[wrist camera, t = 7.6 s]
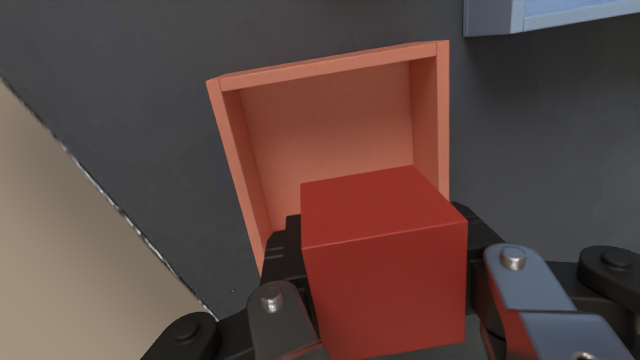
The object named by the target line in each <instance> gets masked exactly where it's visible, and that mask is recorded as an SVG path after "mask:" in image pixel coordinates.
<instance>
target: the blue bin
mask: <svg viewBox="0 0 640 360" xmlns="http://www.w3.org/2000/svg"><path fill="white" fill-rule="evenodd" d="M639 12H640V0H463V37H475V36H490V35H505V34H515V33H520V32H526V31H532V30H538V29H544V28H550V27H556V26H562V25H568V24H574V23H580V22H586V21H592V20H598V19H603V18H609V17H615V16H621V15H627V14H633V13H639Z"/></svg>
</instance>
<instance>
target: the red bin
mask: <svg viewBox="0 0 640 360" xmlns="http://www.w3.org/2000/svg"><path fill="white" fill-rule="evenodd" d="M206 86H207V89H208V93H209V96H210V100H211V103H212V107H213V110H214V114H215V118H216V121H217V125H218V128H219V132H220V135H221V139H222V142H223V146H224V149H225V153H226V157H227V160H228V164H229V167H230V171H231V174H232V178H233V181H234V185H235V188H236V192H237V196H238V199H239V203H240V206H241V210H242V213H243V217H244V220H245V224H246V227H247V231H248V235H249V238H250V242H251V245H252V249H253V252H254V256H255V259H256V263H257V266H258V270H259V274H260V277H261V273H262V267H263V261H264V255H265V248H266V242H267V240H268V238H269V237H270V236H271V235H272V233H273V232H275V231H280V230H285V225H286V216H289V215H295V214H301V204H300V184H301V183H306V182H312V181H318V180H324V179H330V178H336V177H342V176H348V175H354V174H359V173H365V172H371V171H377V170H383V169H389V168H395V167H401V166H407V165H413V166H414V167H415V168H416V169H417V170H418V171H419V172H420V173H421V174H422V175H423V176H424V177H425V178H426V179H427V180H428V181H429V182H430V183H431V184H432V185H433V186H434V187H435V188H436V189H437V190H438V191H439V192H440V193H441V194H442V195H443V196H444V197H445V198H446V199H447V200H448V201H449V40H440V41H421V42H411V43H405V44H399V45H393V46H387V47H381V48H375V49H369V50H363V51H357V52H351V53H345V54H339V55H334V56H328V57H322V58H316V59H310V60H304V61H298V62H292V63H286V64H280V65H274V66H268V67H262V68H256V69H251V70H245V71H239V72H233V73H227V74H224V75H221V76H218V77H216V78H213V79H210V80H207V81H206Z"/></svg>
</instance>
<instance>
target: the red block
mask: <svg viewBox="0 0 640 360" xmlns="http://www.w3.org/2000/svg"><path fill="white" fill-rule="evenodd" d="M300 204H301V250H302V255H303V260H304V265H305V269H306V274H307V279H308V283H309V288H310V293H311V297H312V302H313V307H314V312H315V316H316V321H317V326H318V330H319V335H320V340H321V341H323V343H324V344H325V346H326V348H327V351H328V353H329V355H330V358H331V360H360V359H366V358H372V357H378V356H384V355H390V354H396V353H402V352H408V351H414V350H420V349H426V348H432V347H437V346H443V345H449V344H455V343H461V342H464V341H465V316H466V277H467V239H468V221H467V219H466V218H465V217H464V216H463V215H462V214H461V213H460V212H459V211H458V210H457V209H456V208H455V207H454V206H453V205H452V204H451V203H450V202H449V201H448V200H447V199H446V198H445V197H444V196H443V195H442V194H441V193H440V192H439V191H438V190H437V189H436V188H435V187H434V186H433V185H432V184H431V183H430V182H429V181H428V180H427V179H426V178H425V177H424V176H423V175H422V174H421V173H420V172H419V171H418V170H417V169H416V168H415V167H414V166H413V165H407V166H401V167H395V168H389V169H383V170H377V171H371V172H365V173H359V174H354V175H348V176H342V177H336V178H330V179H324V180H318V181H312V182H306V183H301V184H300Z"/></svg>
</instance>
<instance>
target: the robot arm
mask: <svg viewBox="0 0 640 360" xmlns="http://www.w3.org/2000/svg"><path fill="white" fill-rule="evenodd" d="M450 203H451V204H452V205H453V206H454V207H455V208H456V209H457V210H458V211H459V212H460V213H461V214H462V215H463V216H464V217H465V218H466V219H467V221H468V239H467V277H466V315H471V314H477V315H478V317H479V318H480V334H481V338H482V341H483V344H484V348H485V351H486V355H487V358H488V360H640V334H639V332H640V255H639V254H637V253H634V252H631V251H629V250H625V249H622V248H617V247H612V246H591V247H587V248H585V249H583V250H582V251H581V252H580V256H579V262H578V263H573V262H551V261H545V260H544V259H543V258H542V256H541V255H540V254H539V253H537V252H536V251H534V250H533V249H531V248H529V247H526V246H523V245H520V244H515V243H506V242H505V241H504V240H503V239H502V238H500V237H499V236H498V235H497V234H496V233H495V232H494V231H493V230H492V229H491V228H490V227H489V226H488V225H487V224H485V223H483V221H482V220H481V219H480V218H479V217H478V216H476V214H475V213H474V212H473V211H472V210H471V209H469V208H468V207H467V206H464V205H462V204H460V203H458V202H455V201H454V202H450ZM319 340H320V335H319V330H318V326H317V321H316V316H315V312H314V307H313V302H312V297H311V293H310V288H309V283H308V279H307V274H306V269H305V265H304V260H303V255H302V250H301V214H295V215H289V216H286V225H285V230H280V231H275V232H273V233H272V235H271V236H270V237H269V238H268V240H267V242H266V248H265V255H264V261H263V267H262V273H261V280H260V286H259V287H258V288H257V289H256V290H255V291H253V292H252V294H251V295H250V296H249V298H248V300H247V304H246V308H245V309H243V310H242V311H240V312H238V313H236V314H234V315H232V316H230V317H227V318H225V319H223V320H220V321H218V322H216V321H215V318H214V317H213V316H212V315H211V314H209V313H207V312H194V313H190V314H187V315H185V316H183V317H180V318H179V319H177V320H175V321H174V322H173V323H171V325H169V326H168V327H167V328H166V329H165V330H164V331H163V333H162V334H161V335H160V336H159V337H158V339H157V340H156V341H155V342H154V343H153V345H152V346H151V347H150V348H149V350H148V351H147V352H146V353H145V354H144V356H143V357H142V358H141V359H140V360H331V358H330V355H329V353H328V351H327V348H326V346H325V344H324V343H323V341H319Z"/></svg>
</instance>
